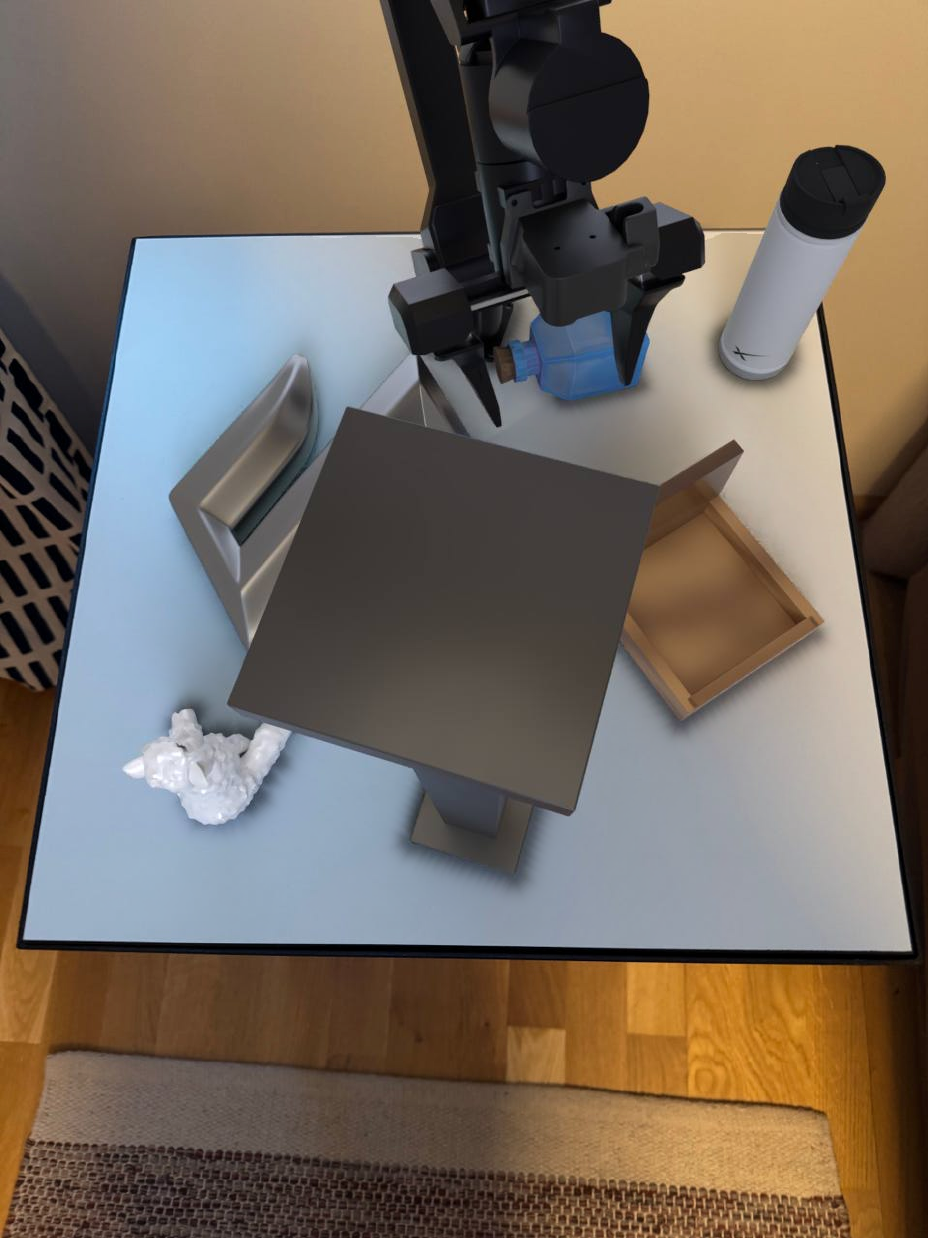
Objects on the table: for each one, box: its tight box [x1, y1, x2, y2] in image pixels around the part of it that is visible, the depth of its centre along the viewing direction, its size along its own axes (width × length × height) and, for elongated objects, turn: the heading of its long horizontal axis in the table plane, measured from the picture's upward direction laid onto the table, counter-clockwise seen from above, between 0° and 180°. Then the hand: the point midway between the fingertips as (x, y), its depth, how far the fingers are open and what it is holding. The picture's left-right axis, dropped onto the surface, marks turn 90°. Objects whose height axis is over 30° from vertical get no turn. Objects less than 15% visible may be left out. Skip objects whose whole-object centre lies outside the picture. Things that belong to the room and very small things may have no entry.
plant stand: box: [226, 405, 660, 876], centre depth 41 cm, size 8×8×46 cm
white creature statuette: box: [122, 708, 293, 826], centre depth 59 cm, size 10×9×12 cm
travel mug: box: [718, 144, 887, 381], centre depth 65 cm, size 6×7×20 cm
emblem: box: [168, 351, 472, 653], centre depth 68 cm, size 28×5×28 cm
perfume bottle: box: [492, 311, 651, 402], centre depth 72 cm, size 6×6×12 cm
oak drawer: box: [619, 439, 825, 722], centre depth 63 cm, size 14×13×10 cm
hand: (561, 404), depth 56 cm, fingers open, 9 cm apart
